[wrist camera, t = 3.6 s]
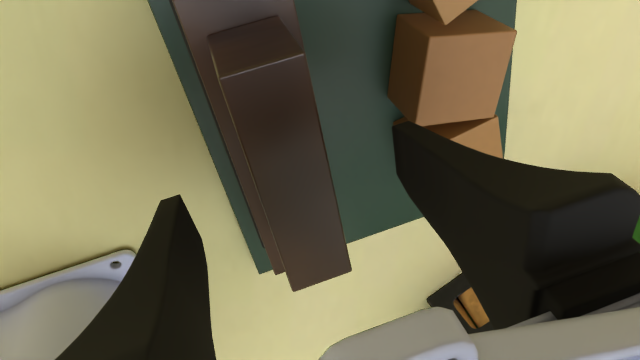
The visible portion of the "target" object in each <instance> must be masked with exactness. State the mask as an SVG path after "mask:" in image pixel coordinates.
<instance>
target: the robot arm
mask: <svg viewBox="0 0 640 360" xmlns="http://www.w3.org/2000/svg"><path fill="white" fill-rule="evenodd" d="M392 134H393V144H394V154H395V164H396V174H397V176H398V178H399V180H400V181H401V183H402V185H403V187H404V189H405V190H406V192H407V194H408V196H409V197H410V199H411V200H412V201H413V203H414V204H415V205H416V207H417V208H418V209H419V211H420V212H421V213H422V214H423V216H424V217H425V218H426V220H427V221H428V222H429V224H430V225H431V226H432V227H433V229H434V230H435V231H436V233H437V234H438V235H439V237H440V238H441V239H442V240H443V242H444V243H445V245H446V246H447V247H448V249H449V250H450V252H451V253H452V255H453V257H454V258H455V260H456V262H457V263H458V265H459V267H460V268H461V270H462V272H463V273H464V275H465V277H466V279H467V280H468V282H469V284H470V286H471V287H472V289H473V291H474V293H475V294H476V296H477V298H478V300H479V302H480V304H481V306H482V307H483V309H484V311H485V313H486V315H487V317H488V319H489V320H490V322H491V324H492V326H493V328H494V330H492V331H486V332H480V333H473V334H467V332H466V331H465V329H464V327H463V326H462V324H461V323H460V321H459V320H458V318H457V316H456V315H455V313H454V312H453V310H449V309H446V308H442V307H433V308H428V309H423V310H419V311H417V312H414V313H411V314H409V315H406V316H403V317H401V318H398V319H395V320H392V321H390V322H387V323H384V324H382V325H379V326H376V327H374V328H371V329H368V330H366V331H363V332H360V333H357V334H355V335H352V336H349V337H347V338H344V339H342V340H341V341H339V342H337V343H335V344H333V345H332V346H330V347H329V348H328V349H327V350H326V351H325V352H324V354H323V355H322V356H321V357H320V358H319V360H640V253H639V252H640V244H639V243H638V242H637V241H636V240H635V239H633V238H632V236H633V233H634V230H635V228H636V225H637V222H638V219H639V216H640V195H639V194H638V193H637V192H636V191H635V190H634V189H633V188H631V187H630V186H628V185H627V184H626V183H624V182H623V181H621V180H620V179H619V178H617V177H616V176H614V175H613V174H611V173H592V172H575V171H566V170H557V169H550V168H543V167H538V166H533V165H528V164H522V163H518V162H514V161H510V160H506V159H503V158H499V157H495V156H492V155H489V154H486V153H483V152H480V151H477V150H475V149H472V148H469V147H467V146H464V145H462V144H459V143H457V142H454V141H452V140H450V139H448V138H445V137H443V136H441V135H439V134H437V133H434V132H432V131H430V130H428V129H426V128H424V127H422V126H420V125H417V124H415V123H413V122H411V121H406V122H403V123H400V124H397V125H394V126H392ZM113 261H118V262H119V263H112V262H113ZM0 360H216V356H215V350H214V344H213V339H212V330H211V318H210V301H209V284H208V270H207V262H206V257H205V252H204V247H203V242H202V238H201V236H200V234H199V232H198V230H197V228H196V226H195V224H194V222H193V220H192V218H191V216H190V214H189V212H188V210H187V208H186V206H185V204H184V202H183V200H182V198H181V196H180V195H176V196H173V197H170V198H167V199H164V200H161V201H160V203H159V205H158V208H157V210H156V212H155V215H154V217H153V220H152V222H151V224H150V227H149V229H148V231H147V234H146V236H145V238H144V240H143V242H142V244H141V247H140V249H139V251H138V253H137V255H136V254H135V253H134V252H133V251H131V250H121V251H118V252H115V253H112V254H109V255H106V256H103V257H100V258H97V259H94V260H91V261H88V262H85V263H82V264H79V265H76V266H73V267H70V268H67V269H64V270H61V271H58V272H55V273H52V274H49V275H46V276H43V277H40V278H37V279H34V280H31V281H28V282H25V283H22V284H19V285H16V286H13V287H10V288H7V289H4V290H1V291H0Z"/></svg>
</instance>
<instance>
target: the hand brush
mask: <svg viewBox="0 0 640 360" xmlns="http://www.w3.org/2000/svg"><path fill="white" fill-rule="evenodd" d="M169 2H170V5H171V8H172V10H173V13H174V16H175V18H176V21H177V23H178V26H179V29H180V31H181V34H182V37H183V39H184V42H185V45H186V47H187V50H188V52H189V55H190V58H191V60H192V63H193V66H194V68H195V71H196V74H197V76H198V79H199V81H200V84H201V87H202V89H203V92H204V95H205V97H206V100H207V102H208V105H209V108H210V110H211V113H212V116H213V118H214V121H215V124H216V126H217V129H218V131H219V134H220V137H221V139H222V142H223V145H224V147H225V150H226V153H227V155H228V158H229V160H230V163H231V166H232V168H233V171H234V174H235V176H236V179H237V181H238V184H239V187H240V189H241V192H242V195H243V197H244V200H245V203H246V205H247V208H248V210H249V213H250V216H251V218H252V221H253V224H254V226H255V229H256V232H257V234H258V237H259V239H260V242H261V245H262V247H263V248H265V250H266V252H267V255H268V257H269V260H270V263H271V265H272V268H273V271H274V273H275V275H278V274H280V273H283V272H286V275H287V277H288V280H289V283H290V286H291V289H292V291H293V292H295V291H298V290H301V289H304V288H306V287H309V286H312V285H315V284H318V283H320V282H323V281H326V280H329V279H332V278H334V277H337V276H340V275H343V274H346V273H348V272H351V271H352V268H351V264H350V259H349V254H348V250H347V245H346V240H345V236H344V231H343V226H342V222H341V217H340V212H339V208H338V203H337V198H336V194H335V189H334V184H333V180H332V175H331V170H330V165H329V161H328V156H327V151H326V147H325V142H324V137H323V133H322V128H321V123H320V119H319V114H318V109H317V105H316V100H315V95H314V91H313V86H312V81H311V77H310V72H309V67H308V63H307V58H306V53H305V49H304V44H303V40H302V35H301V30H300V26H299V21H298V16H297V12H296V7H295V2H294V0H169Z"/></svg>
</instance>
